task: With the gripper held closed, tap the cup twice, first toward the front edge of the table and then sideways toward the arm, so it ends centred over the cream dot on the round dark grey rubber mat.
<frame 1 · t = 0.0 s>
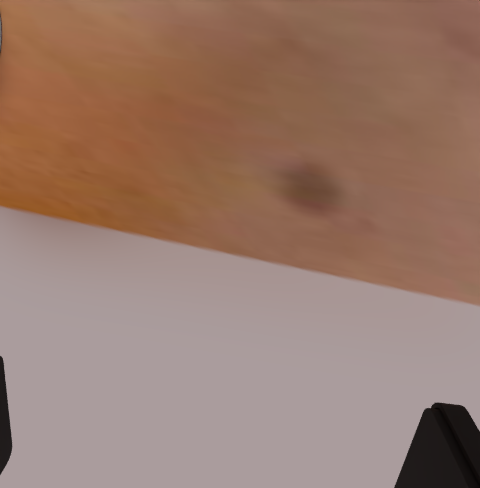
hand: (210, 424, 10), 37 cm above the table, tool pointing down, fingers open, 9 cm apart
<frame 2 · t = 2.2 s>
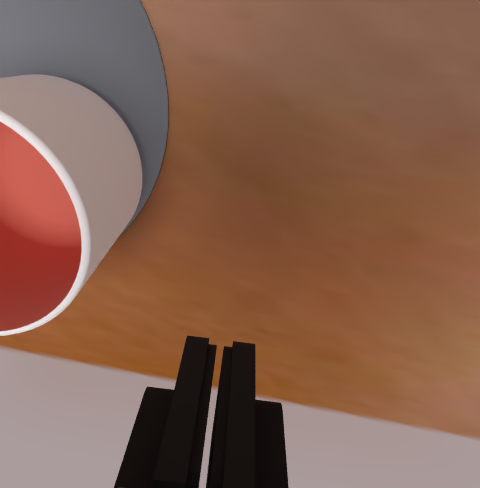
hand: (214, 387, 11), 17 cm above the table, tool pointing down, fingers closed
cup: (63, 163, 26), resting on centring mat
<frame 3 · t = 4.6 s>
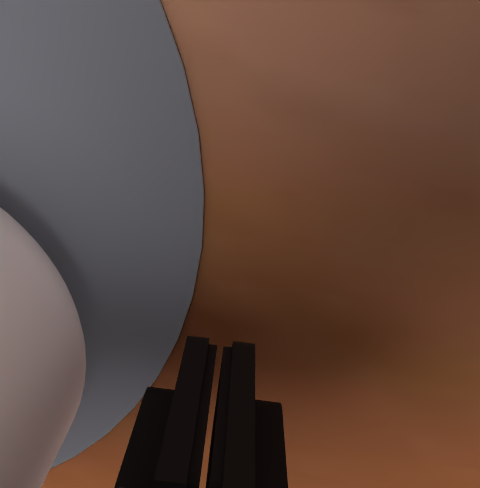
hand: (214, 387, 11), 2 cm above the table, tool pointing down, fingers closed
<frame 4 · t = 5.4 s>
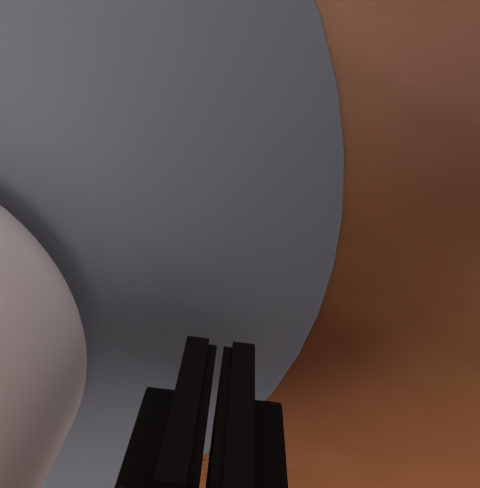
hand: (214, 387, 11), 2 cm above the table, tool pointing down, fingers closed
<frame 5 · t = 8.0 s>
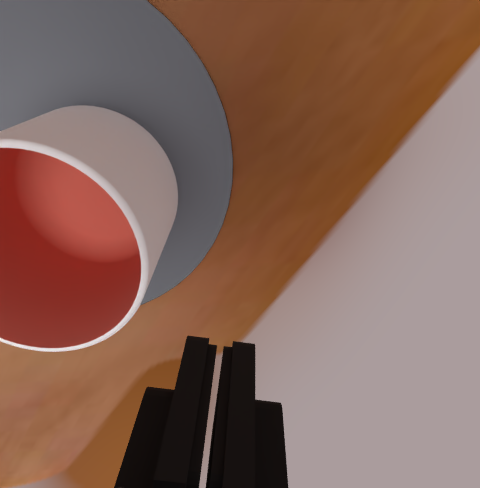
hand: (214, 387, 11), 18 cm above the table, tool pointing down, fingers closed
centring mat: (54, 164, 28), on the table
cup: (102, 184, 28), resting on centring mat
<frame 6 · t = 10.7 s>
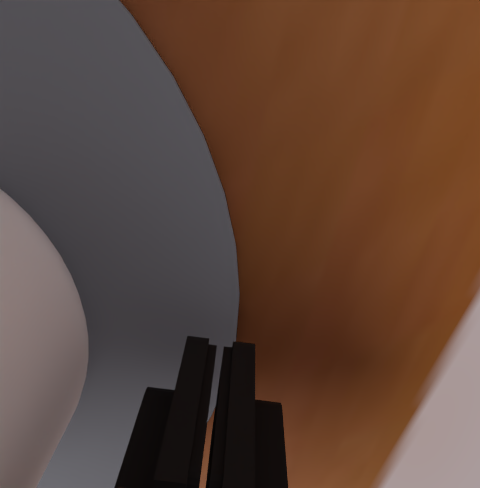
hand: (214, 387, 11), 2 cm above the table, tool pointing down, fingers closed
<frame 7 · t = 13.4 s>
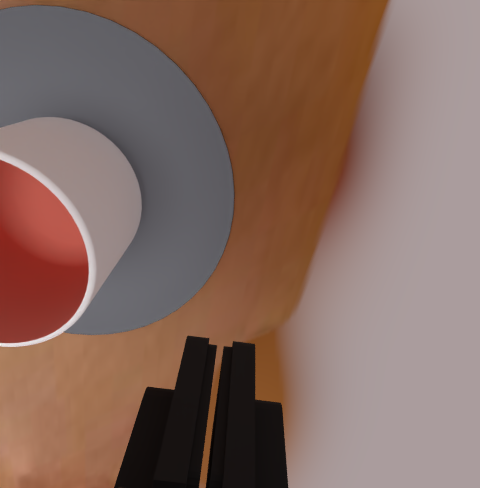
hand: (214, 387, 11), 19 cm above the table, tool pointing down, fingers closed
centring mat: (67, 193, 30), on the table
cup: (71, 191, 30), resting on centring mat
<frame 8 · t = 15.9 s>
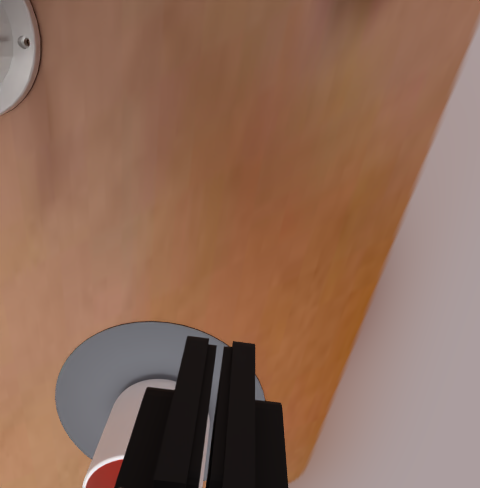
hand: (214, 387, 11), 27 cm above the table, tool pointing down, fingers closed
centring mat: (160, 410, 47), on the table
cup: (163, 409, 47), resting on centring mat
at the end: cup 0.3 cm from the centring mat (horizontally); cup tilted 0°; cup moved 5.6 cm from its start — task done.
